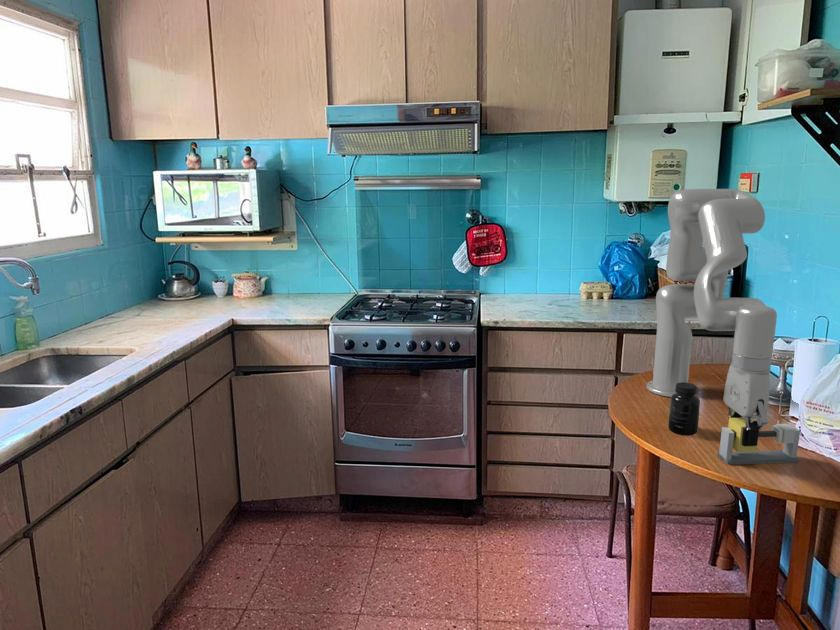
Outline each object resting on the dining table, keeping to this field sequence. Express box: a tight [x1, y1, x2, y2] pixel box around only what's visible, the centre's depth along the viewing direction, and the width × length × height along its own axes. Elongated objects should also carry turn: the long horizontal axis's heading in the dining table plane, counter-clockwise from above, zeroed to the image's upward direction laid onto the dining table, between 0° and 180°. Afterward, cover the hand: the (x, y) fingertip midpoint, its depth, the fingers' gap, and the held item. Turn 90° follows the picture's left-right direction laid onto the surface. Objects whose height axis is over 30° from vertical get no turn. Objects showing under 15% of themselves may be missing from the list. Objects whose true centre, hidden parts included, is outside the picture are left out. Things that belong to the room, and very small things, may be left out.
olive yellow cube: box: [727, 417, 758, 452], centre depth 137 cm, size 5×4×6 cm
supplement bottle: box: [668, 382, 701, 437], centre depth 152 cm, size 7×7×12 cm
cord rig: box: [716, 423, 801, 465], centre depth 137 cm, size 4×16×8 cm, turn 92°
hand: (742, 439), depth 137 cm, fingers closed on olive yellow cube, 5 cm apart
